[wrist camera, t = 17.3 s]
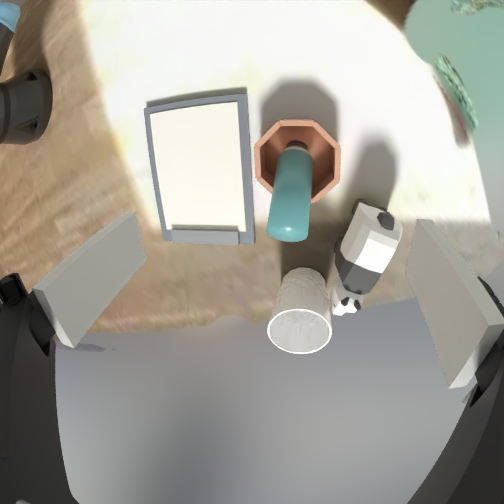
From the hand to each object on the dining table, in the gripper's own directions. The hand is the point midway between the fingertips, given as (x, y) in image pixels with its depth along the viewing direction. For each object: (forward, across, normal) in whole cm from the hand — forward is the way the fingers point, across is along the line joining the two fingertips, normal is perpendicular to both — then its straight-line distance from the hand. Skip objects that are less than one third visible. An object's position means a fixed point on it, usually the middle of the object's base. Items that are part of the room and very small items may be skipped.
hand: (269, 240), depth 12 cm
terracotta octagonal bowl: (+23, +1, 0) cm, 23 cm away
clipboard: (+24, -12, -2) cm, 27 cm away
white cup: (+24, +2, -20) cm, 31 cm away
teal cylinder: (+22, 0, +1) cm, 22 cm away
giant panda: (+24, +9, -12) cm, 28 cm away
